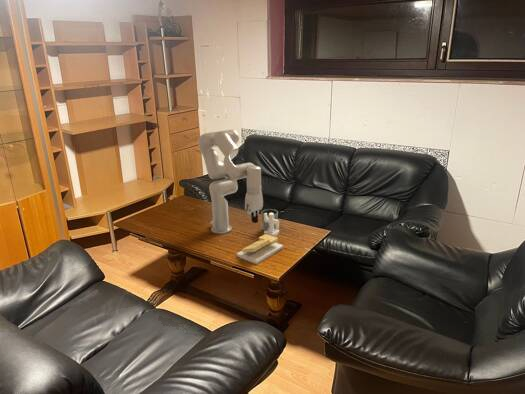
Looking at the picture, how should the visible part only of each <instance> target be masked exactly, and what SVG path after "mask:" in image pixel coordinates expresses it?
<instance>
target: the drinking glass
mask: <svg viewBox="0 0 525 394" xmlns="http://www.w3.org/2000/svg"><path fill="white" fill-rule="evenodd" d="M264 213H267V218H269V213H274V219H276V220H279V219H278V218H279V217H278V216H279V211H278V210H276V209H272V208H268V209H264V210H263V209H262V210H261V213H260V214H261V218H262V230H263V232H265V231H266V230H267V229H268V228H269V223H267V222H265V221H264ZM274 229H276V224H274Z"/></svg>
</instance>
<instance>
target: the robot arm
mask: <svg viewBox="0 0 525 394" xmlns="http://www.w3.org/2000/svg"><path fill="white" fill-rule="evenodd" d="M239 141H240V136H239V134H238V132H237V130H235V129H227V130H220V131H212V132H207V133H203V134H201V135H200V136H199V137H198V139H197V143H198V148H199V151H200V153H201V155H202V157H203V161H204V164H205V168H206V172H207V175H208V177H209V178H210V179H212V180H215V179H216V180H215V181H213V182H211V183H210V184H209V187H208V189H209V194H210V197H211V199H210V200H211V209H212V219H211V221H210V222H209V224H210V225H212V227H211V229H210V231H211V232H212V233H214V234H218V235H220V234H221V235H222V234H227V233H229V232H231V231H232V229H233V228H232V226H231V225H230V221H229V204H228V200H227V199H226V198H225V196H227V195H231V194H235V193H237V191H238V189H239V188H238V187H239V185H238V181H237V180H241V179H246V193H245V198H244V211H245V212H246V215H247V216H250V217H251V222H252V223H254V224H257V223H259V214H260V211H262V210H263V207H264V197H263V192H262V168H261V167H260V166H258V165H255V164H254V163H252V162H244V163H240V164H236V165H235V164H234V163H233V161H232V160H233V159H234V158H235V157H237V155H238V153H239V148H238V146H237V145H236V144H238V143H239ZM215 147H216V148H218V149H219V151H220V153H221V154H222V155H223V156H224V158H223V160H220V158H219V155H218V153H217V151H216V150H215V149H214V148H215ZM220 178H222V179H220ZM217 179H219V180H217Z"/></svg>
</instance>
